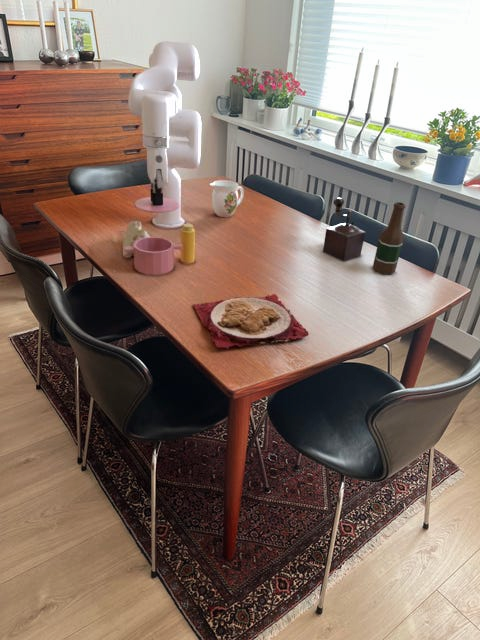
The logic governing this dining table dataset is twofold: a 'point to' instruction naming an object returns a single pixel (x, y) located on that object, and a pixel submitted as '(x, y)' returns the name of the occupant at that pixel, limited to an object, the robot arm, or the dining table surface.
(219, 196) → the pitcher
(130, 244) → the cheese
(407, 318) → the dining table surface
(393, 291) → the dining table surface
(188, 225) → the yellow stepped cylinder
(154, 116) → the robot arm
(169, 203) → the lid
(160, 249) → the pot
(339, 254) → the coffee grinder
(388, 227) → the beer bottle
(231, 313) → the plate with food
